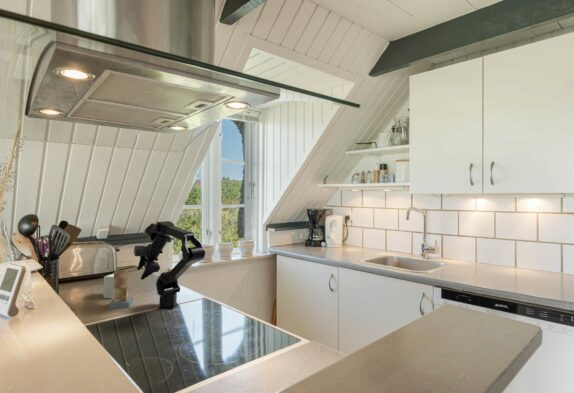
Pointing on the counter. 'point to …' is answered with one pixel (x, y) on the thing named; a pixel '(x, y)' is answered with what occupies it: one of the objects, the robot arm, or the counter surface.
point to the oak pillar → (120, 286)
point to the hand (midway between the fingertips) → (139, 274)
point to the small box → (109, 286)
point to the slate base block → (121, 304)
